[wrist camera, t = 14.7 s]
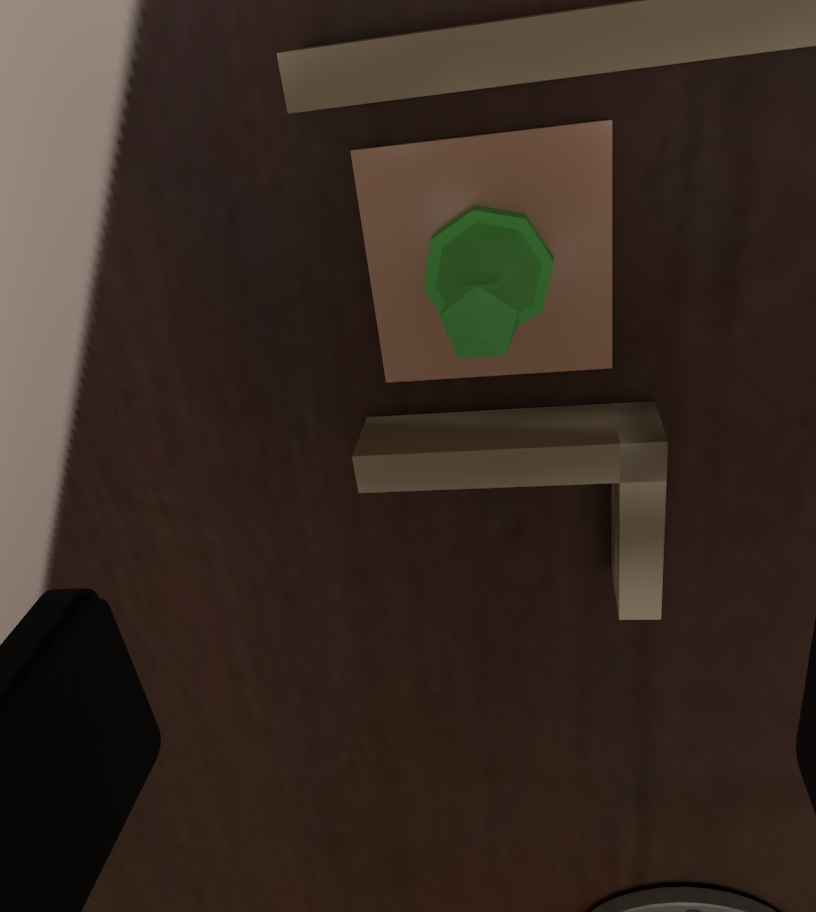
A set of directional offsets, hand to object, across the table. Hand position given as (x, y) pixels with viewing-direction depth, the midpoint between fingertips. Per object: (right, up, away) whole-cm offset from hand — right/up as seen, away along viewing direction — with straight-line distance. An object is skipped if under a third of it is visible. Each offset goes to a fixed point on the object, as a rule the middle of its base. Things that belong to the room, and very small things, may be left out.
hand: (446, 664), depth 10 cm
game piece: (+2, +9, +16) cm, 18 cm away
